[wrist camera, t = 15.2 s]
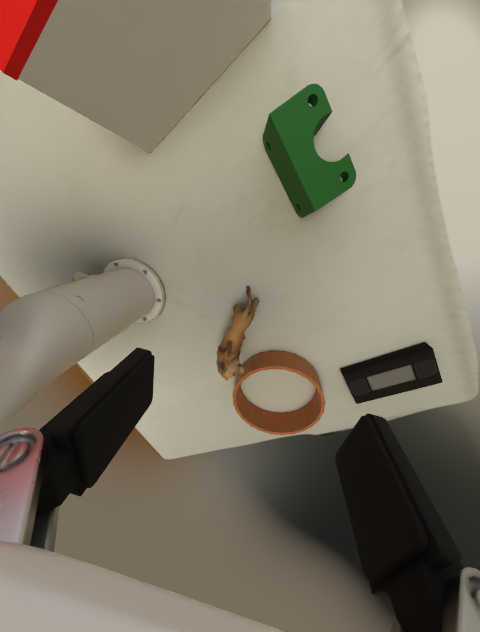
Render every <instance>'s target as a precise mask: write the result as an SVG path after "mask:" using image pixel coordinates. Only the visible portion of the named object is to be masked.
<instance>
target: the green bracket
mask: <svg viewBox="0 0 480 632" xmlns="http://www.w3.org/2000/svg"><path fill="white" fill-rule="evenodd" d="M308 103H310V104H311V105H312V106H313V107H311V106H309V104H308ZM331 113H332V110H331V107H330V105H329V102H328V100H327V97H326V95H325V92H324V90H323V89H322V87H321V86H319V85H317V84H310V85H308V86H307V87H305V88H304V89H303V90H301V91H300V92H298V93H297V94H296V95H294V96H293V97H292V98H290V99H289V100H288V101H286V102H285V103H283V104H282V105H281V106H279V107H278V108H277V109H275V110H274V111H273V112H271V113H270V114H269V117H268V120H267V124H266V127H265V131H264V134H263V143H264V146H265V149H266V151H267V153H268V155H269V158H270V160H271V162H272V164H273V166H274V168H275V170H276V172H277V174H278V176H279V178H280V180H281V182H282V184H283V186H284V188H285V190H286V192H287V194H288V196H289V198H290V200H291V202H292V204H293V206H294V208H295V210H296V212H297V213H298V215H299V216H300V217H305V216H307V215H308V214H310V213H312V212H314V211H316V210H317V209H319V208H321V207H322V206H324V205H325V204H327V203H328V202H330V201H331V200H333V199H334V198H336V197H337V196H339V195H340V194H342V193H343V192H345V191H346V190H348V189H349V188H351V187H352V185H353V184H354V182H355V179H356V171H355V169H354V166H353V164H352V161H351V158H350V156H349V153H348V154H347V155H346V156H345V157H343V158H342V159H341V160H339V161H337V162H327V161H325V160H323V159H321V158H320V157H319V156H318V154H317V153H316V151H315V148H314V144H313V136H314V135H316V133H317V132H318V131H319V129H320V128H321V126H322V125H323V124H324V122H325V121H326V120H327V118H328V117H329V115H330V114H331ZM340 176H341V177H342V179H343V181H342V182H341V181H340Z"/></svg>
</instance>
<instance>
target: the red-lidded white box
mask: <svg viewBox="0 0 480 632" xmlns="http://www.w3.org/2000/svg"><path fill="white" fill-rule="evenodd" d="M270 19H271V0H0V70H1V71H2V72H3V73H4V74H6V75H8V76H10V77H12V78H13V79H15V80H18V79H19V80H21V81H23V82H25V83H26V84H28V85H30V86H32V87H34V88H35V89H37V90H39V91H41V92H42V93H44V94H46V95H48V96H50V97H51V98H53V99H55V100H57V101H58V102H60V103H62V104H64V105H66V106H67V107H69V108H71V109H73V110H74V111H76V112H78V113H80V114H82V115H83V116H85V117H87V118H89V119H90V120H92V121H94V122H96V123H98V124H99V125H101V126H103V127H105V128H106V129H108V130H110V131H112V132H114V133H115V134H117V135H119V136H121V137H122V138H124V139H126V140H128V141H130V142H131V143H133V144H135V145H137V146H138V147H140V148H142V149H144V150H146V151H147V152H149V153H151V152H152V151H153V150H154V149H155V148H156V146H157V145H158V144H159V143H160V142H161V141H162V140H163V139H164V138H165V136H166V135H167V134H168V133H169V132H170V131H171V130H172V129H173V128H174V126H175V125H176V124H177V123H178V122H179V121H180V120H181V119H182V117H183V116H184V115H185V114H186V113H187V112H188V111H189V110H190V109H191V107H192V106H193V105H194V104H195V103H196V102H197V101H198V100H199V99H200V97H201V96H202V95H203V94H204V93H205V92H206V91H207V90H208V89H209V87H210V86H211V85H212V84H213V83H214V82H215V81H216V80H217V79H218V77H219V76H220V75H221V74H222V73H223V72H224V71H225V70H226V68H227V67H228V66H229V65H230V64H231V63H232V62H233V61H234V60H235V58H236V57H237V56H238V55H239V54H240V53H241V52H242V51H243V50H244V48H245V47H246V46H247V45H248V44H249V43H250V42H251V41H252V40H253V38H254V37H255V36H256V35H257V34H258V33H259V32H260V31H261V29H262V28H263V27H264V26H265V25H266V24H267V23H268V22H269V21H270Z"/></svg>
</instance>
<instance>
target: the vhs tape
mask: <svg viewBox="0 0 480 632" xmlns="http://www.w3.org/2000/svg"><path fill="white" fill-rule="evenodd" d="M432 350H433V348H432V347H430V346H429V345H428V344H427V343H421V344H418V345H415V346H412V347H409V348H405V349H402V350H399V351H396V352H393V353H389V354H386V355H383V356H380V357H376V358H373V359H370V360H367V361H364V362H360V363H357V364H354V365H351V366H348V367H344V368H341V369H340V370H341V372H342V374H343V376H344V379H345V381H346V383H347V385H348V387H349V389H350V391H351V394H352V396H353V398H354V400H355V402H356V403H357V404H358V403H362V402H366V401H370V400H374V399H378V398H382V397H386V396H390V395H394V394H398V393H402V392H406V391H410V390H414V389H418V388H422V387H426V386H430V385H434V384H438V383H442V379H441V375H440V372H439V368H438V365H437V362H436V358H435V355H434V351H432Z"/></svg>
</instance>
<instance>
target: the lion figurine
mask: <svg viewBox="0 0 480 632" xmlns="http://www.w3.org/2000/svg"><path fill="white" fill-rule="evenodd" d="M246 289H247V290H246V293H247V295H248V304H247V307H246V309H245V310H244V311H242V310H241V305H235V306H234V307H233V310H234V314H233V316H232V323H231V326H230V327H229V329H228V330H227V332H226V334H225V336H224V339H223V341H222V343H221V345H220V346H219V347H218V351H217V365H218V372H219V373H220V374H221V375H222V377H224V378H225V379H226V380H227V379H229V378H231V377H233V376H235V375H236V374H243V373H244V368H243V367H242V365H241V364H239V355H240V349H241V345H242V340H244V339H245V336H244V335H243V334H244V330H245V329H246V328H247V327H248V326H249V325H250V323H251V321H252V320H253V318H254V314H255V309H256V307H257V305H258V303H259V299H258V298H254V299H253V301H252V303H253V304H252V308H251V310H250V311H249V309H250V306H251V295H250V288H249V286H247V288H246Z"/></svg>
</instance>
